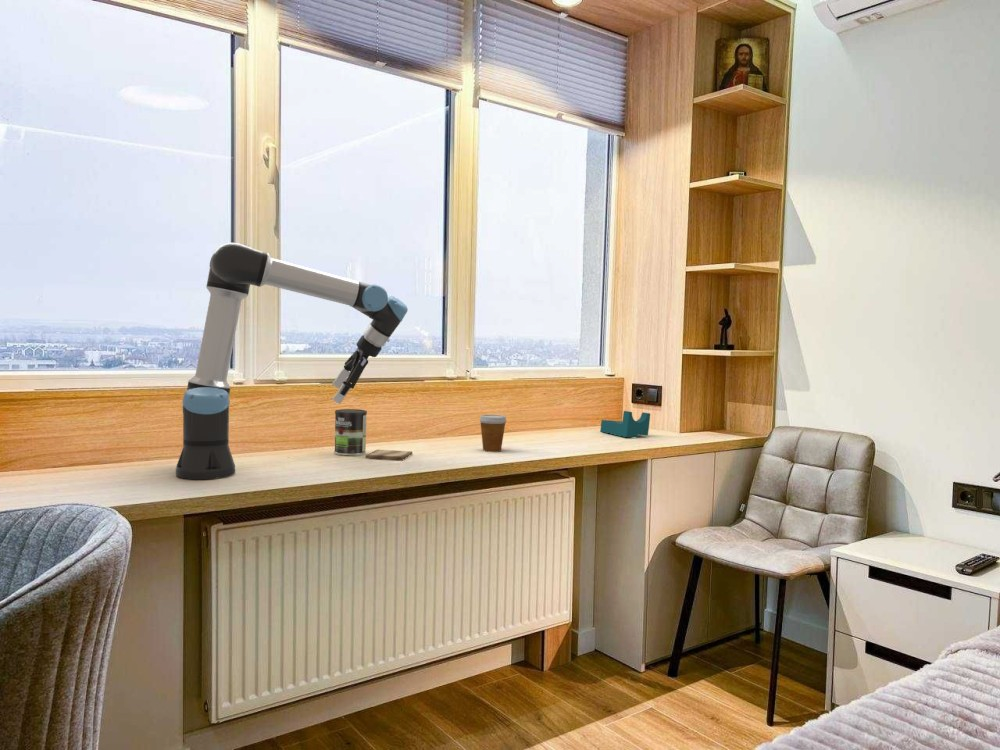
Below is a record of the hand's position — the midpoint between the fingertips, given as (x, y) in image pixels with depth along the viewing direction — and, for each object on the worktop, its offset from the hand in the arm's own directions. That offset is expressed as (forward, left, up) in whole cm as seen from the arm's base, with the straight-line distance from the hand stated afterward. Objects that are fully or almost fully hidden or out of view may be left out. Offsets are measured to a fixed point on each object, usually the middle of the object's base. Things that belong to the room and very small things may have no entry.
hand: (335, 393), depth 241 cm
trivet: (+17, +3, -20) cm, 27 cm away
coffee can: (+4, +5, -20) cm, 21 cm away
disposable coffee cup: (+47, +26, -20) cm, 57 cm away
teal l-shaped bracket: (+93, +82, -20) cm, 126 cm away
